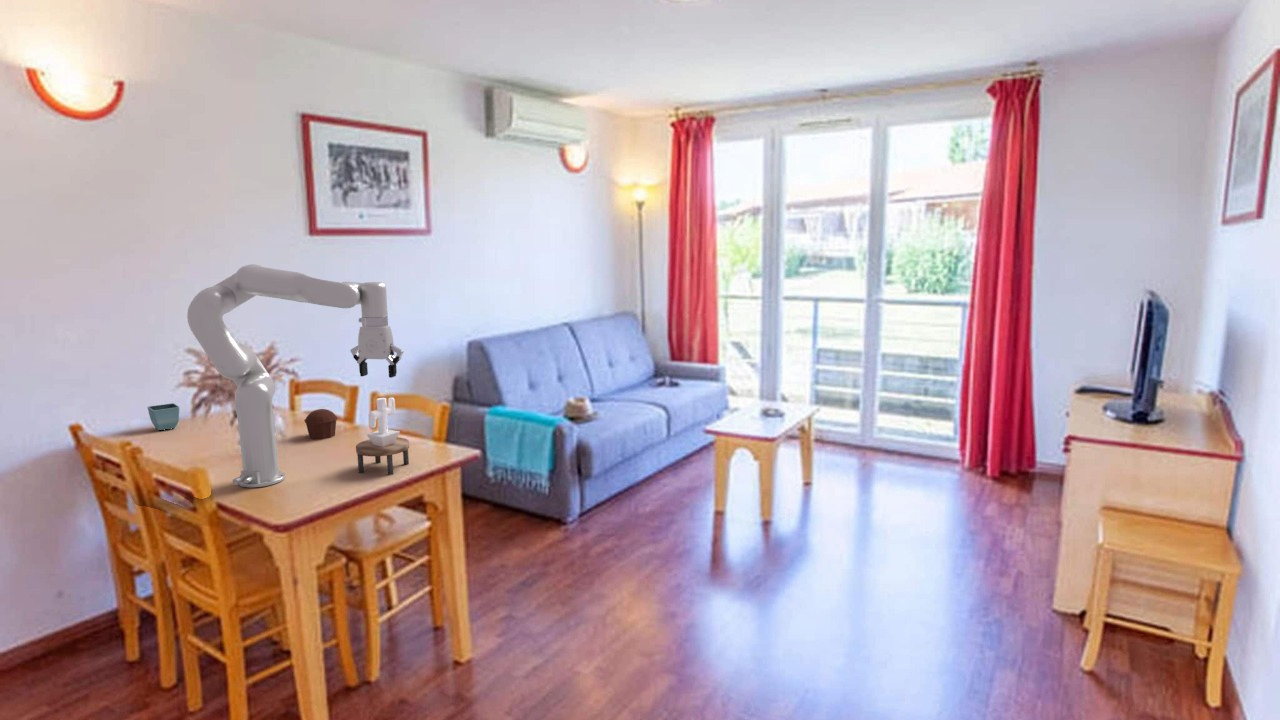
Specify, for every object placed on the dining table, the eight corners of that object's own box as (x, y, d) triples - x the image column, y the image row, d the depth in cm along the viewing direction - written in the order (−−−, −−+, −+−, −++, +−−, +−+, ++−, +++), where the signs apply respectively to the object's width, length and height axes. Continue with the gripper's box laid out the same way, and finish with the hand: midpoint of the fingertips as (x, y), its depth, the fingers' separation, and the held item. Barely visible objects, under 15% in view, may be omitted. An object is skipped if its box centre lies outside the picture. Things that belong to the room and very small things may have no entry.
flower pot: (182, 429, 271) (179, 406, 269) (155, 433, 264) (152, 410, 263) (176, 425, 277) (173, 402, 275) (149, 429, 270) (146, 406, 269)
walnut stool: (394, 477, 216) (393, 452, 215) (347, 474, 219) (345, 449, 218) (419, 461, 232) (417, 438, 231) (374, 459, 235) (373, 436, 233)
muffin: (333, 440, 257) (331, 413, 255) (301, 441, 255) (299, 414, 253) (342, 431, 268) (340, 406, 266) (311, 432, 267) (309, 406, 265)
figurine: (364, 445, 222) (361, 399, 219) (388, 438, 230) (385, 394, 228) (379, 449, 218) (376, 402, 216) (403, 441, 226) (400, 396, 224)
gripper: (342, 322, 215) (346, 377, 218) (394, 324, 212) (397, 379, 215) (356, 320, 223) (359, 373, 225) (407, 321, 220) (409, 375, 223)
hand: (378, 376), depth 220 cm, fingers open, 9 cm apart
